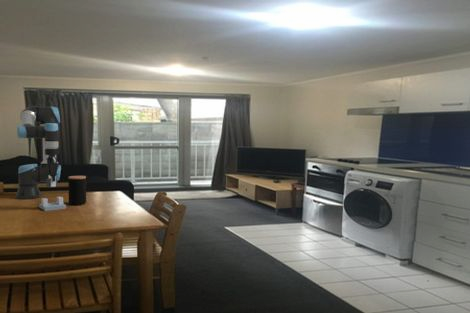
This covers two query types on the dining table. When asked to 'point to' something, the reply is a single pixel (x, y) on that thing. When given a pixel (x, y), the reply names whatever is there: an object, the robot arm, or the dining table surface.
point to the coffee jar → (77, 190)
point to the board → (52, 204)
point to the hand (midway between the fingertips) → (52, 186)
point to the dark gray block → (50, 182)
